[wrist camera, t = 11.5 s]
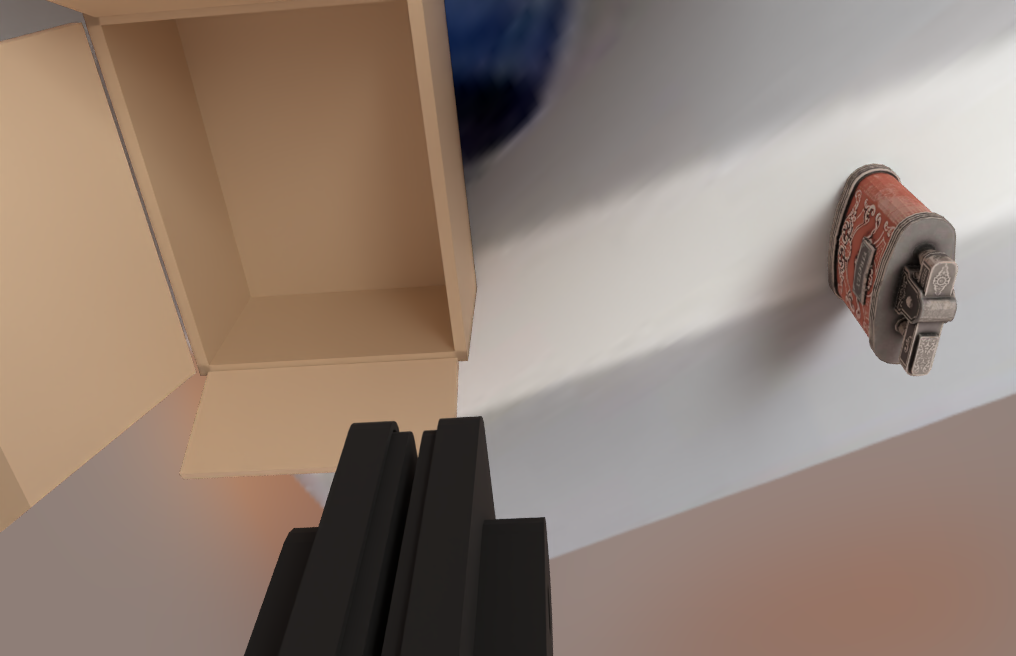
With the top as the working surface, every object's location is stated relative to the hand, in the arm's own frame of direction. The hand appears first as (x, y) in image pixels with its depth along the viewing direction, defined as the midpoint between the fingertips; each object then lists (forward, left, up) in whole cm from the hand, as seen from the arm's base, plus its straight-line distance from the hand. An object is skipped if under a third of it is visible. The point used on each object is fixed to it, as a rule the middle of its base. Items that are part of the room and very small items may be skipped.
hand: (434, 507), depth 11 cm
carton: (+10, +6, -35) cm, 37 cm away
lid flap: (+19, +6, -21) cm, 29 cm away
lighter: (-19, +13, -35) cm, 42 cm away
